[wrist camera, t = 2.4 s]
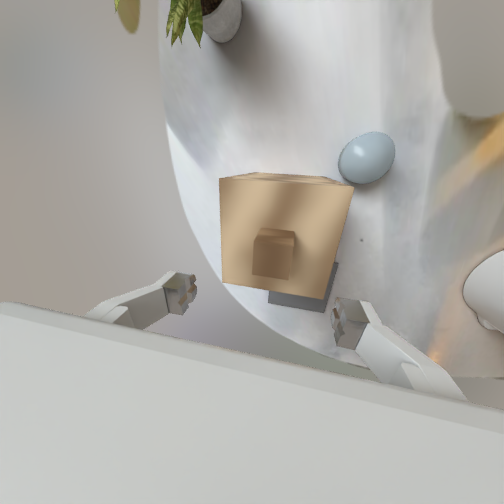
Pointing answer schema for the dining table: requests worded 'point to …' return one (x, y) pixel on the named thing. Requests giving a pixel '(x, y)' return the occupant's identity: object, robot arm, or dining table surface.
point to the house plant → (204, 18)
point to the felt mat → (303, 301)
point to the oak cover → (281, 231)
